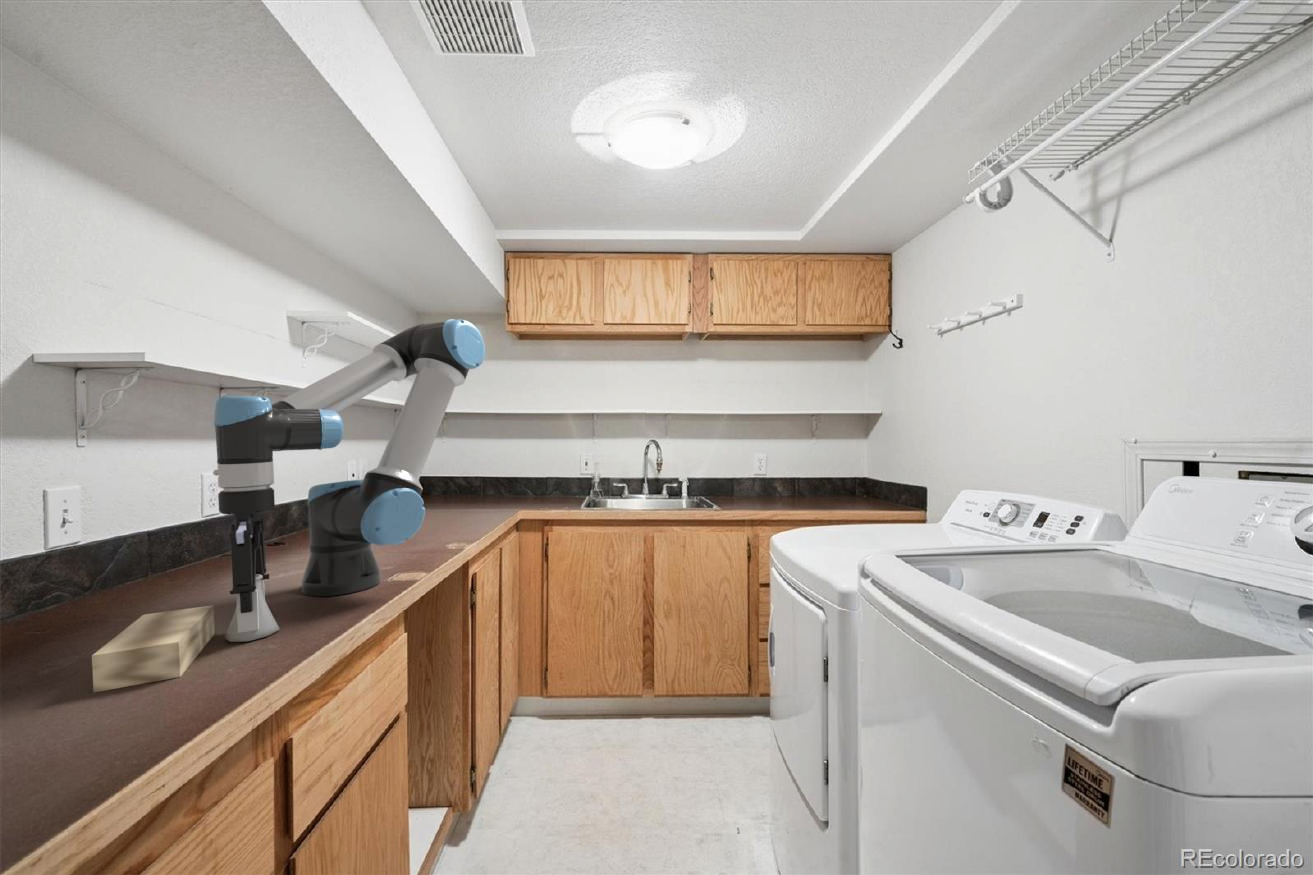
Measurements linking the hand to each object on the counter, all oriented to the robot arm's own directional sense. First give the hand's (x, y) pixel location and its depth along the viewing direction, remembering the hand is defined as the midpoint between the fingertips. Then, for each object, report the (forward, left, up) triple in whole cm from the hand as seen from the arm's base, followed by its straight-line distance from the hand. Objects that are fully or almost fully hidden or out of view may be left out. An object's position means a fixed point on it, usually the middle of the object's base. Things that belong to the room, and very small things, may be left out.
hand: (252, 624), depth 92 cm
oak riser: (+11, +5, -2) cm, 12 cm away
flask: (0, 0, -2) cm, 2 cm away
